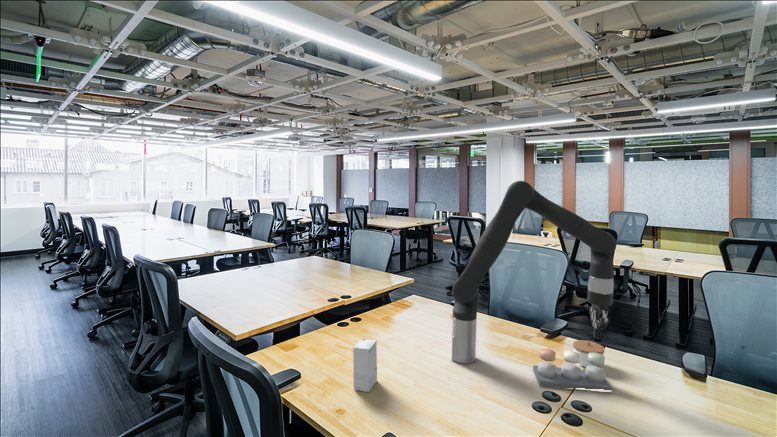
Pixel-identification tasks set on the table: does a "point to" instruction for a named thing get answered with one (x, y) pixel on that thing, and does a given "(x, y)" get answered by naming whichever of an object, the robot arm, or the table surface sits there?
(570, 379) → the control board
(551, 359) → the knob
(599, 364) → the knob
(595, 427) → the table surface
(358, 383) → the skincare box
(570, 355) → the knob mid
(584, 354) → the lidded jar
